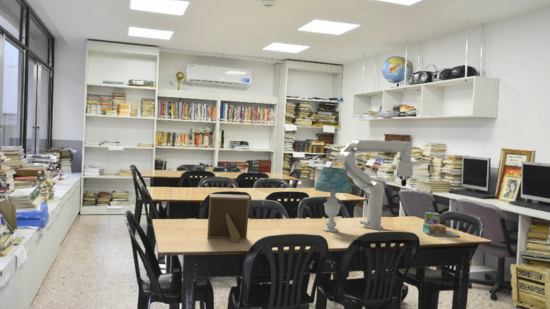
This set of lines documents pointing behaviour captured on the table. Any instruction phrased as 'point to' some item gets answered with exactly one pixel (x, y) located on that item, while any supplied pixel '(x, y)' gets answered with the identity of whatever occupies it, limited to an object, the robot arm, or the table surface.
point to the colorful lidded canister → (432, 218)
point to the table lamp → (333, 192)
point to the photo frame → (228, 216)
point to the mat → (448, 234)
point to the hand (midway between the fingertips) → (403, 186)
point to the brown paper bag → (434, 228)
